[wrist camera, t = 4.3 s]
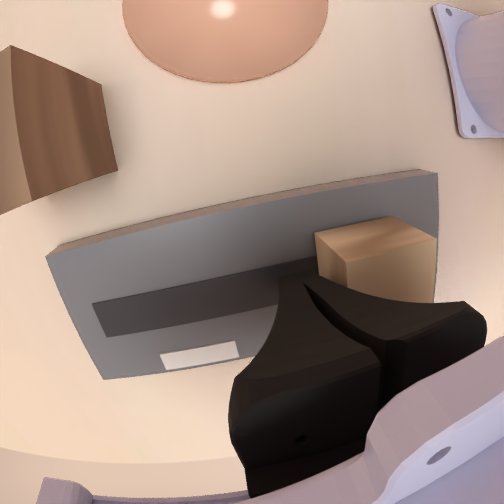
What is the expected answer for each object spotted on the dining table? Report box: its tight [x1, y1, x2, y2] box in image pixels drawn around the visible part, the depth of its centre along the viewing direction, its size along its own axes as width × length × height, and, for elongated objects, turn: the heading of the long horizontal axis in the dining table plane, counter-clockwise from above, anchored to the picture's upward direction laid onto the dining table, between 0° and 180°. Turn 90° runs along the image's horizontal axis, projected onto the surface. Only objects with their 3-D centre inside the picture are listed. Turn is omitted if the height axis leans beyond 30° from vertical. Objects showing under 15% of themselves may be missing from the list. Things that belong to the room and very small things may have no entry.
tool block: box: [0, 45, 118, 215], centre depth 8 cm, size 4×4×7 cm
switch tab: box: [314, 216, 437, 303], centre depth 11 cm, size 4×4×3 cm
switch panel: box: [45, 169, 439, 380], centre depth 14 cm, size 18×7×2 cm, turn 101°
